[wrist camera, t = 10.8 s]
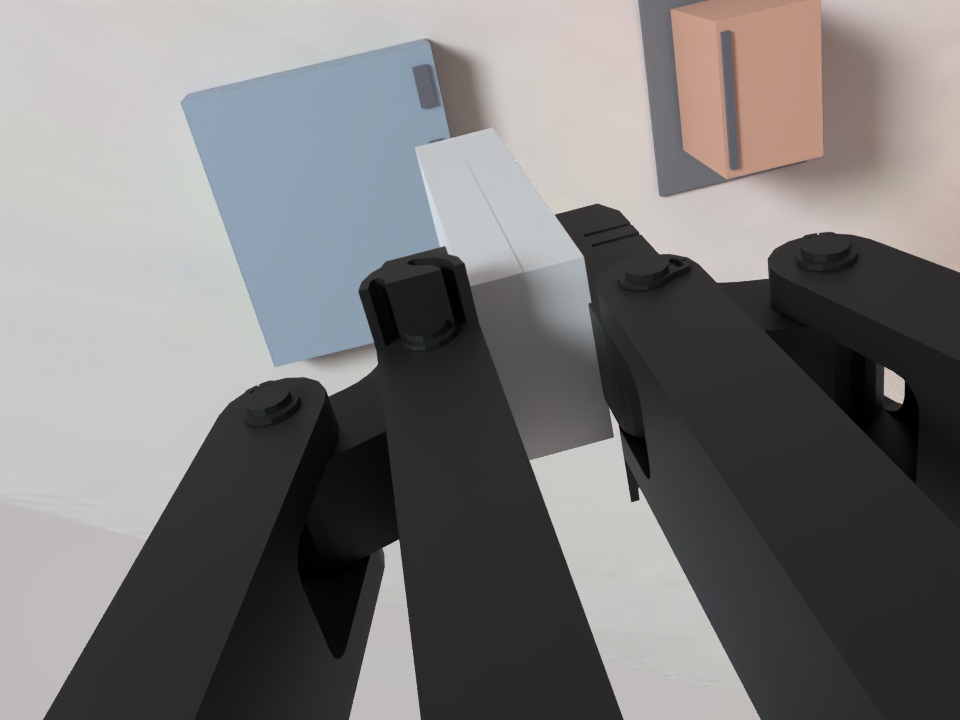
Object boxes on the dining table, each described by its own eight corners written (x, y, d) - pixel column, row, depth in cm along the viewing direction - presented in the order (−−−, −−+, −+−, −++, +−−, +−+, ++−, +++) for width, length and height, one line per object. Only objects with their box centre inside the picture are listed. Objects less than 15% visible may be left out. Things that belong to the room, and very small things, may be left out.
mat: (659, 195, 41) (660, 196, 40) (634, -37, 36) (636, -37, 36) (804, 160, 41) (806, 161, 41) (798, -75, 36) (800, -75, 36)
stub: (683, 149, 39) (728, 180, 35) (670, 9, 36) (717, 22, 32) (769, 129, 39) (825, 156, 35) (762, -13, 37) (823, -3, 32)
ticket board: (277, 349, 41) (274, 368, 40) (188, 94, 36) (179, 103, 34) (483, 299, 42) (489, 316, 40) (426, 38, 36) (430, 44, 34)
